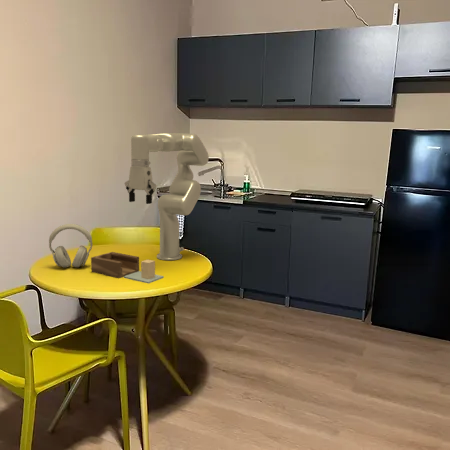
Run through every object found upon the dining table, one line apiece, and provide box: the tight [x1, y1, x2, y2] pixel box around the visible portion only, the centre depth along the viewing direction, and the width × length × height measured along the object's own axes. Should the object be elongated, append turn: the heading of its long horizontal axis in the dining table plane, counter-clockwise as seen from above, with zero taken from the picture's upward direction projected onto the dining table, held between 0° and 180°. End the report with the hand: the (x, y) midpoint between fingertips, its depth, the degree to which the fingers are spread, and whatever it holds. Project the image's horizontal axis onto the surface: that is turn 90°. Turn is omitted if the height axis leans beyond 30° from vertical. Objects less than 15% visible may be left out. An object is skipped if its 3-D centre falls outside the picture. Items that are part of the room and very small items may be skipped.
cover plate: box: [123, 259, 164, 284], centre depth 194 cm, size 10×14×8 cm
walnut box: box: [90, 251, 140, 279], centre depth 202 cm, size 13×16×7 cm
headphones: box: [48, 223, 93, 269], centre depth 206 cm, size 18×10×20 cm, turn 100°
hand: (140, 202), depth 203 cm, fingers open, 9 cm apart
